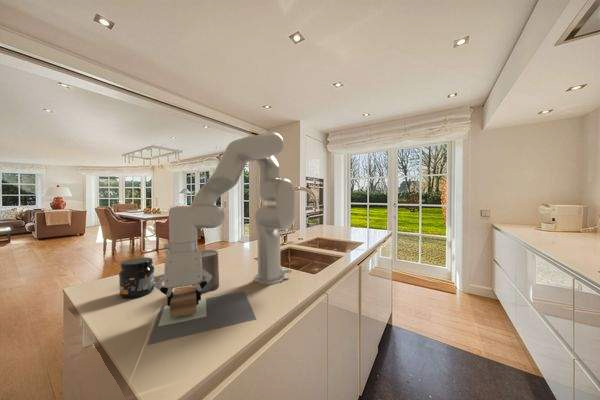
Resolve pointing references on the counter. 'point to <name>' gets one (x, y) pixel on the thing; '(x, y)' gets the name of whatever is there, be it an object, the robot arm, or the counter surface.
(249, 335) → the counter surface
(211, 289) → the pillar candle
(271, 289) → the counter surface
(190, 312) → the brown rectangular block
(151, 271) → the supplement container
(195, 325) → the mat
